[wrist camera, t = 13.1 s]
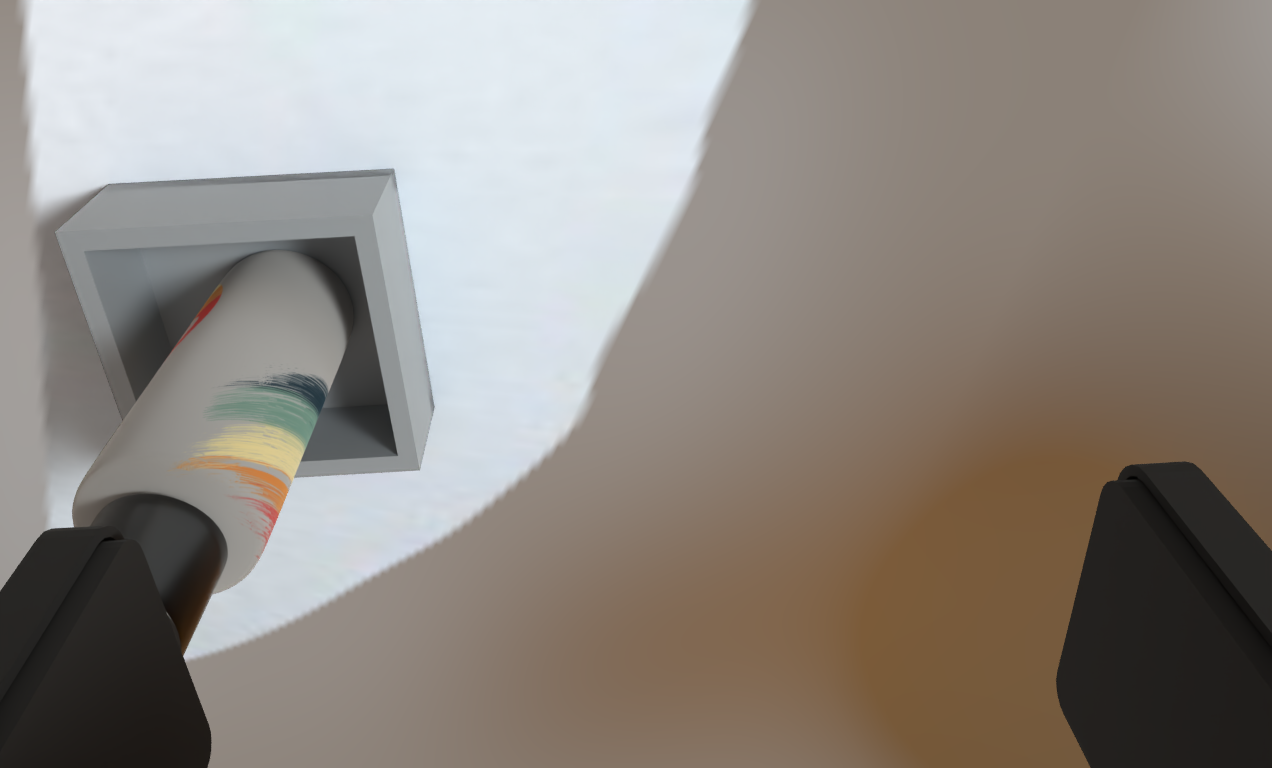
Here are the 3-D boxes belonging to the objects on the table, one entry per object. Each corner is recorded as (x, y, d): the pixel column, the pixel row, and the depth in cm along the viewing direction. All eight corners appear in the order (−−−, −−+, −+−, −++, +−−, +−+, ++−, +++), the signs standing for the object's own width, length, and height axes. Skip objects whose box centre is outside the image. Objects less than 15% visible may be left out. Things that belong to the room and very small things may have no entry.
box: (108, 184, 42) (54, 232, 38) (393, 168, 42) (372, 214, 38) (185, 421, 48) (146, 486, 44) (434, 407, 48) (420, 470, 44)
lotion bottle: (207, 338, 45) (-25, 694, 28) (237, 225, 42) (1, 543, 25) (336, 381, 46) (189, 745, 29) (372, 274, 44) (235, 606, 26)
